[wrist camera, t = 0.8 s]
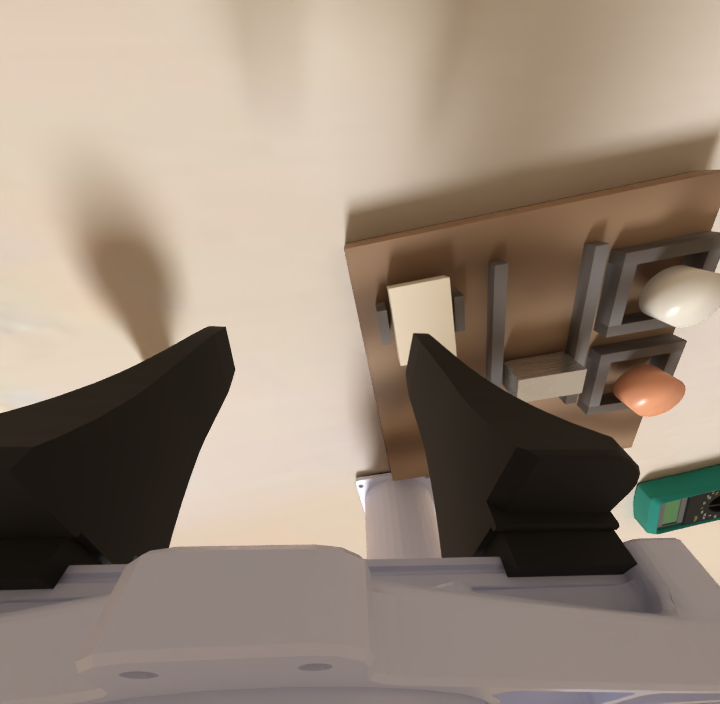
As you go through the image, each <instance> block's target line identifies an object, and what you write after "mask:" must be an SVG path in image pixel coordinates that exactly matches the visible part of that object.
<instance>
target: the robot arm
mask: <svg viewBox="0 0 720 704" xmlns="http://www.w3.org/2000/svg"><path fill="white" fill-rule="evenodd" d="M234 372H235V366H234V362H233V357H232V353H231V349H230V344H229V340H228V335H227V331H226V327H216V326H209V327H206V328H204V329H202V330H200V331H198V332H196V333H194V334H193V335H191V336H189V337H187V338H185V339H184V340H182V341H180V342H178V343H177V344H175V345H173V346H171V347H169V348H168V349H166V350H164V351H162V352H160V353H158V354H156V355H155V356H153V357H151V358H149V359H147V360H145V361H143V362H141V363H139V364H137V365H135V366H133V367H131V368H129V369H127V370H124V371H122V372H120V373H118V374H115V375H113V376H111V377H108V378H106V379H103V380H101V381H99V382H96V383H94V384H91V385H88V386H85V387H82V388H80V389H77V390H74V391H71V392H68V393H66V394H63V395H60V396H57V397H54V398H51V399H48V400H45V401H41V402H38V403H35V404H32V405H28V406H25V407H21V408H18V409H14V410H11V411H8V412H4V413H0V704H720V586H719V585H718V584H717V583H716V581H715V580H714V579H713V578H712V577H711V576H710V574H709V573H708V572H707V571H706V570H705V569H704V567H703V566H702V565H701V564H700V563H699V562H698V560H697V559H696V558H695V557H694V556H693V555H692V553H691V552H690V551H689V550H688V549H687V548H686V546H685V545H684V544H683V543H682V542H681V541H680V540H678V539H676V538H650V539H633V540H630V541H626V542H624V543H623V542H622V541H621V540H620V538H619V537H618V535H617V534H616V533H615V531H614V530H617V529H618V528H619V523H618V521H617V520H616V519H615V517H614V516H613V514H612V513H611V512H610V511H611V510H612V509H613V508H614V507H615V506H616V505H617V504H618V503H619V502H620V501H621V500H622V499H623V498H624V497H625V496H626V495H628V494H629V493H630V492H631V490H632V489H633V488H634V487H635V485H636V484H637V481H638V479H639V475H640V471H639V466H638V465H637V464H636V463H635V462H634V461H633V459H632V458H631V457H630V456H629V455H628V454H627V453H626V452H625V451H624V450H623V448H622V447H621V446H620V445H619V444H618V443H617V442H616V441H615V440H614V439H613V438H612V437H610V436H607V435H605V434H602V433H599V432H596V431H594V430H591V429H588V428H585V427H582V426H580V425H577V424H574V423H571V422H569V421H567V420H564V419H562V418H559V417H557V416H555V415H552V414H550V413H548V412H545V411H543V410H541V409H539V408H537V407H535V406H533V405H531V404H529V403H527V402H525V401H523V400H521V399H519V398H517V397H515V396H513V395H511V394H510V393H508V392H506V391H504V390H503V389H501V388H500V387H498V386H496V385H495V384H493V383H491V382H490V381H488V380H487V379H485V378H484V377H482V376H481V375H479V374H478V373H477V372H475V371H474V370H473V369H471V368H470V367H469V366H467V365H466V364H465V363H463V362H462V361H461V360H460V359H458V358H457V357H456V356H455V355H454V354H452V353H451V352H450V351H449V350H448V349H446V348H445V347H444V346H443V345H442V344H441V343H439V342H438V341H437V340H436V339H435V338H434V337H432V336H431V335H430V334H427V333H413V336H412V342H411V347H410V352H409V357H408V363H407V368H406V373H405V375H406V382H407V388H408V394H409V398H410V402H411V405H412V408H413V412H414V415H415V418H416V422H417V425H418V428H419V431H420V435H421V438H422V441H423V445H424V449H425V453H426V459H427V464H428V470H429V475H430V476H425V477H418V478H411V479H404V480H397V481H393V479H392V474H391V473H385V474H378V475H371V476H364V477H358V478H356V480H355V484H356V487H357V490H358V493H359V497H360V500H361V503H362V506H363V510H364V513H365V520H366V548H367V559H363V558H362V557H361V556H360V555H357V554H355V553H353V552H351V551H348V550H346V549H344V548H342V547H333V546H323V545H261V546H200V547H173V548H169V545H170V541H171V537H172V534H173V530H174V527H175V524H176V520H177V517H178V514H179V510H180V507H181V504H182V501H183V498H184V494H185V491H186V488H187V485H188V482H189V479H190V476H191V474H192V471H193V468H194V465H195V463H196V460H197V457H198V454H199V452H200V449H201V447H202V445H203V442H204V440H205V438H206V436H207V434H208V432H209V430H210V428H211V426H212V424H213V422H214V420H215V418H216V416H217V414H218V412H219V410H220V408H221V406H222V404H223V402H224V400H225V398H226V396H227V394H228V391H229V388H230V385H231V382H232V379H233V376H234Z"/></svg>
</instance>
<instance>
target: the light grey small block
mask: <svg viewBox="0 0 720 704" xmlns="http://www.w3.org/2000/svg"><path fill="white" fill-rule="evenodd" d="M586 372H587V369H586V368H585V367H584V366H582V365H581V364H580V363H579V362H577V361H576V360H575V359H573V358H572V357H571V356H570V355H568V354H567V353H566V352H565V351H563V352H557V353H552V354H546V355H540V356H534V357H528V358H522V359H516V360H510V361H504V362H503V372H502V385H503V386H504V387H505V389H506V390H507V391H508V393H510V394H511V395H513V396H515V397H517V398H519V399H521V400H523V401H525V402H528V401H535V400H541V399H548V398H554V397H560V396H567V395H573V394H579V393H582V390H583V385H584V381H585V376H586Z"/></svg>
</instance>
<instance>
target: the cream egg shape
mask: <svg viewBox="0 0 720 704" xmlns="http://www.w3.org/2000/svg"><path fill="white" fill-rule="evenodd" d="M639 308H640V310H641V311H642V312H643V313H644V314H646V315H649V316H651V317H653V318H656V319H658V320H660V321H662V322H665V323H667V324H669V325H672V326H674V327H679V328H683V327H689V326H693V325H696V324H698V323H700V322H702V321H704V320H706V319H707V318H709V317H710V316H711V315H713V314H714V313H715V312H716V311H717V310H718V309H719V308H720V274H718V273H714V272H710V271H706V270H702V269H698V268H693V267H689V266H685V265H677V266H672V267H669V268H666V269H664V270H662V271H661V272H659V273H658V274H656V275H655V276H654V277H652V278H651V279H650V280H649V281H648V282H647V284H646V285H645V286H644V288H643V289H642V291H641V293H640V296H639Z"/></svg>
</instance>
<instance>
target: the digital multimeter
mask: <svg viewBox="0 0 720 704" xmlns="http://www.w3.org/2000/svg"><path fill="white" fill-rule="evenodd" d="M634 518H635V519H636V520H637V521H638V523H639V524H640V525H641V526H642V527H643V528H644V530H645V531H646V532H647V533H652V534H661V533H665V532H669V531H673V530H677V529H682V528H686V527H690V526H694V525H698V524H703V523H707V522H712V521H716V520H720V464H719V465H715V466H711V467H707V468H702V469H698V470H694V471H690V472H686V473H682V474H677V475H673V476H668V477H663V478H659V479H654V480H650V481H646V482H642V483H639V484H638V486H637V490H636V493H635V498H634Z"/></svg>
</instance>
